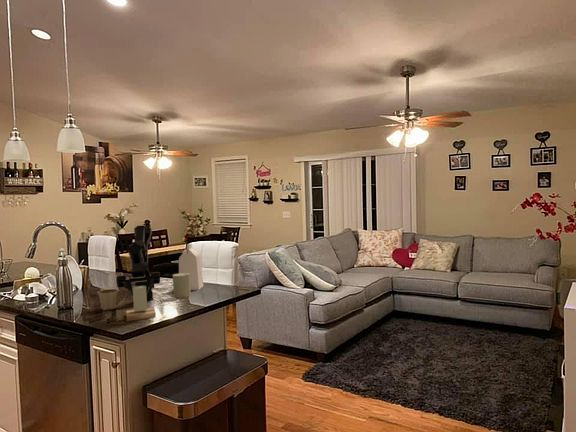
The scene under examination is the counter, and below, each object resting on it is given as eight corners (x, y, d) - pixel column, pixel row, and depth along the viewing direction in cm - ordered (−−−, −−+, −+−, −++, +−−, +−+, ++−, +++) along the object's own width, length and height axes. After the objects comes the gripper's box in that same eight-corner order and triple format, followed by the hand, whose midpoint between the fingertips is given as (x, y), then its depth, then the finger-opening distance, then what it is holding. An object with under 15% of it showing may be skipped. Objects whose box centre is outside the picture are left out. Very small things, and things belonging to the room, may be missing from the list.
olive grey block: (186, 297, 230) (185, 275, 229) (170, 297, 232) (169, 275, 231) (193, 293, 239) (192, 272, 238) (178, 293, 241) (177, 272, 240)
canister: (133, 308, 197) (132, 286, 196) (146, 306, 199) (145, 285, 198) (134, 311, 191) (132, 288, 191) (147, 309, 193) (146, 287, 193)
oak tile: (126, 315, 198) (126, 310, 198) (154, 312, 203) (153, 307, 203) (126, 322, 187) (126, 316, 187) (155, 318, 191) (155, 312, 191)
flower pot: (121, 305, 217) (120, 288, 217) (115, 310, 208) (114, 292, 208) (102, 306, 217) (101, 289, 217) (95, 311, 208) (94, 293, 207)
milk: (199, 289, 250) (196, 244, 249) (179, 290, 250) (176, 245, 249) (203, 285, 262) (201, 242, 261) (184, 286, 262) (182, 243, 261)
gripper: (115, 258, 195) (116, 287, 185) (158, 254, 201) (161, 282, 191) (116, 273, 202) (117, 301, 192) (158, 269, 209) (161, 296, 199)
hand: (139, 295), depth 193 cm, fingers closed on canister, 6 cm apart
